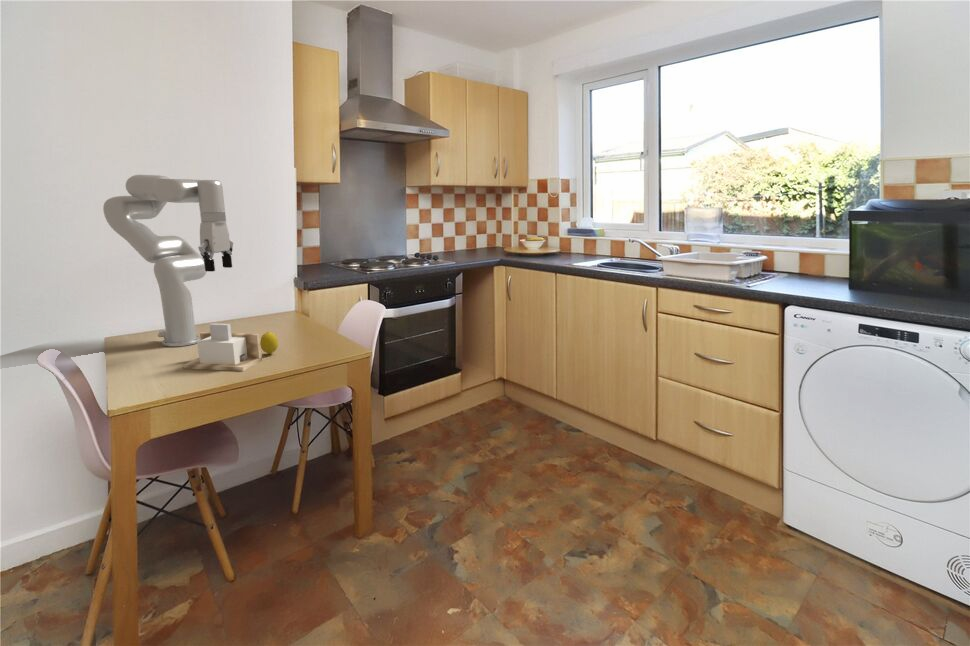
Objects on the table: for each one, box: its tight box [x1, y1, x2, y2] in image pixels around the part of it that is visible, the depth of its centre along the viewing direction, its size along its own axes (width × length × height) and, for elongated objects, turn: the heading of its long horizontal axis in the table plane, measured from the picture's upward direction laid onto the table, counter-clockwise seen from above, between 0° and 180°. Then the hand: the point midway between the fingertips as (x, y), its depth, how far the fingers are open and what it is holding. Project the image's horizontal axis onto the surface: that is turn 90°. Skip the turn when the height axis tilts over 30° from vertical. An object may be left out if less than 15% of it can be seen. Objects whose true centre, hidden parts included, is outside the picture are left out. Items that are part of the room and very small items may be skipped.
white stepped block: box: [196, 322, 248, 365], centre depth 173 cm, size 12×7×12 cm, turn 82°
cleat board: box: [182, 331, 263, 372], centre depth 174 cm, size 20×11×9 cm, turn 82°
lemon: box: [260, 331, 279, 355], centre depth 185 cm, size 6×6×8 cm
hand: (219, 269), depth 185 cm, fingers open, 9 cm apart
